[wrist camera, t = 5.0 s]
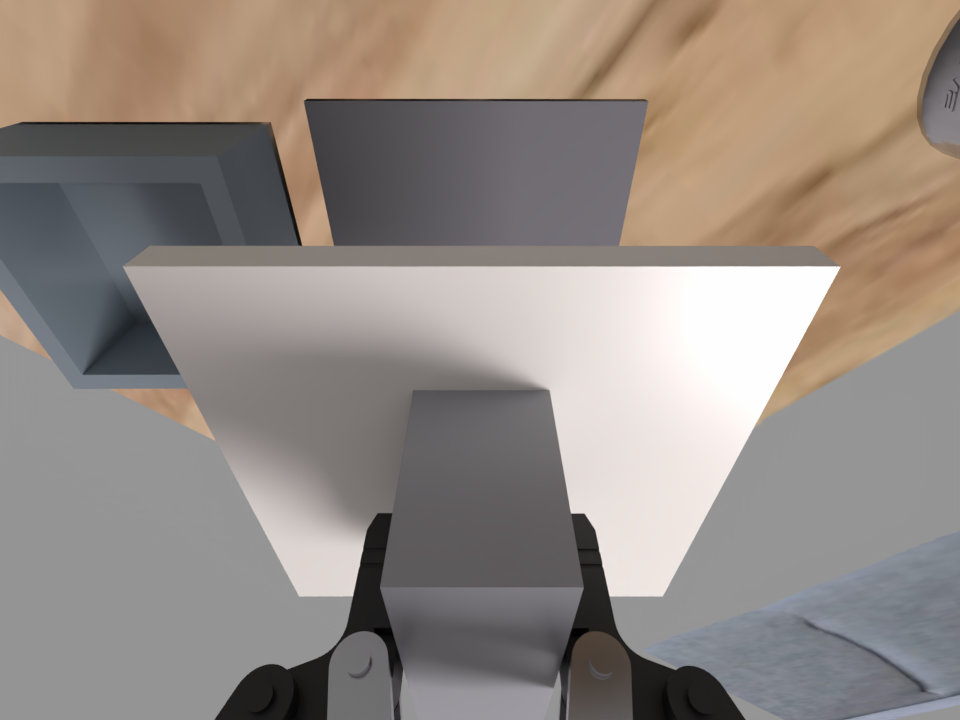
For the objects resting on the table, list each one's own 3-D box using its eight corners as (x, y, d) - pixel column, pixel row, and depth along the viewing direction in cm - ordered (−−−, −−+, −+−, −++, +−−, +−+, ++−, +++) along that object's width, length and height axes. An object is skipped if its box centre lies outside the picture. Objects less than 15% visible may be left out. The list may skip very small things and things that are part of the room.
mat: (644, 99, 22) (648, 101, 21) (592, 361, 32) (594, 366, 31) (307, 98, 22) (303, 101, 21) (361, 362, 32) (359, 367, 31)
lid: (813, 245, 10) (1086, 454, 6) (655, 572, 20) (709, 753, 15) (149, 245, 10) (-123, 454, 6) (306, 572, 20) (252, 752, 15)
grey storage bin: (270, 122, 22) (216, 156, 18) (323, 326, 30) (294, 388, 25) (22, 121, 22) (-99, 156, 18) (137, 326, 30) (73, 388, 25)
